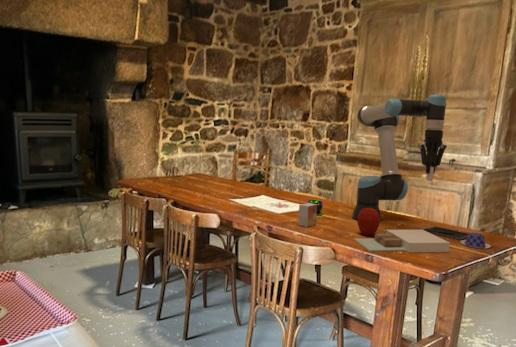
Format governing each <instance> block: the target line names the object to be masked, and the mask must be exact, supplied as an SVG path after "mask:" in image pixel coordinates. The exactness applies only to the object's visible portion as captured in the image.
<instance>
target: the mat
mask: <svg viewBox="0 0 516 347" xmlns="http://www.w3.org/2000/svg"><path fill="white" fill-rule="evenodd" d="M374 239H375V237H374V238H373V237H372V238H370V237H367V238H366V237H365V238H354V239H353V241H354V242H356V243H358V244H359V245H360V246H362V247H363V248H364V249H365V250H367V251H368V252H407V251H406V249H404V248H403V247H384V246H382V245H381V244H379V243H378V242H376V241H375V240H374Z"/></svg>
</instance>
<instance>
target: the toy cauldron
mask: <svg viewBox="0 0 516 347" xmlns="http://www.w3.org/2000/svg"><path fill="white" fill-rule="evenodd" d="M308 199H309V200H308ZM308 199H307V200H306V201H305V202H304V203H312V204H317V215H316V217H322V215H324V214H323V213H324V212H323V213H322V211H323V208H324V207H323V206H324V204H326V202H324V201H322V198H321V199H315V198H314V199H311V198H310V197H308ZM322 218H323V217H322Z"/></svg>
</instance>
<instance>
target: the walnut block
mask: <svg viewBox="0 0 516 347" xmlns="http://www.w3.org/2000/svg"><path fill="white" fill-rule="evenodd" d="M374 238H375V239H374V240H375V241H376V242H378V243H379V244H381V245H382V246H384V247H401V240H400V239H398V238H397V237H395V236H393V235H391V234H386V233H374Z"/></svg>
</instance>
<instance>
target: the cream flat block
mask: <svg viewBox="0 0 516 347" xmlns="http://www.w3.org/2000/svg"><path fill="white" fill-rule="evenodd" d="M385 234H391V235H393V236H395V237H397V238H398V239H400V240H401V247H403V248H404V249H406V251H405V252H407V253H449V252H450V246H451V242H449V241H448V240H445V239H443V238H442V237H440V236H438V235H433V234H431V233H429V232H427V231H425V230H423V229H385Z"/></svg>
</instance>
